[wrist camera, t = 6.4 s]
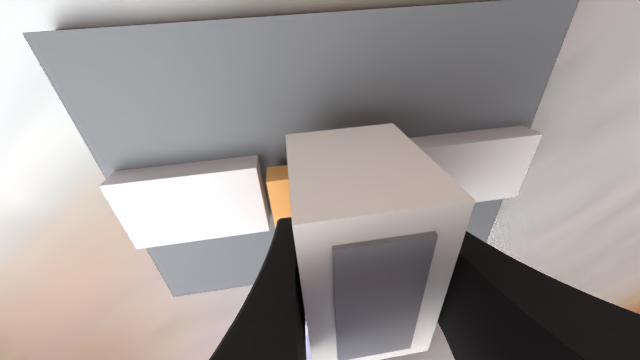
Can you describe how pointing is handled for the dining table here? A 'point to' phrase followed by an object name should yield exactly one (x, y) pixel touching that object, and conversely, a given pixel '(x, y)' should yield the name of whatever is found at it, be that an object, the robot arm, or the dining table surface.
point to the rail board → (294, 112)
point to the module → (372, 239)
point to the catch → (279, 192)
